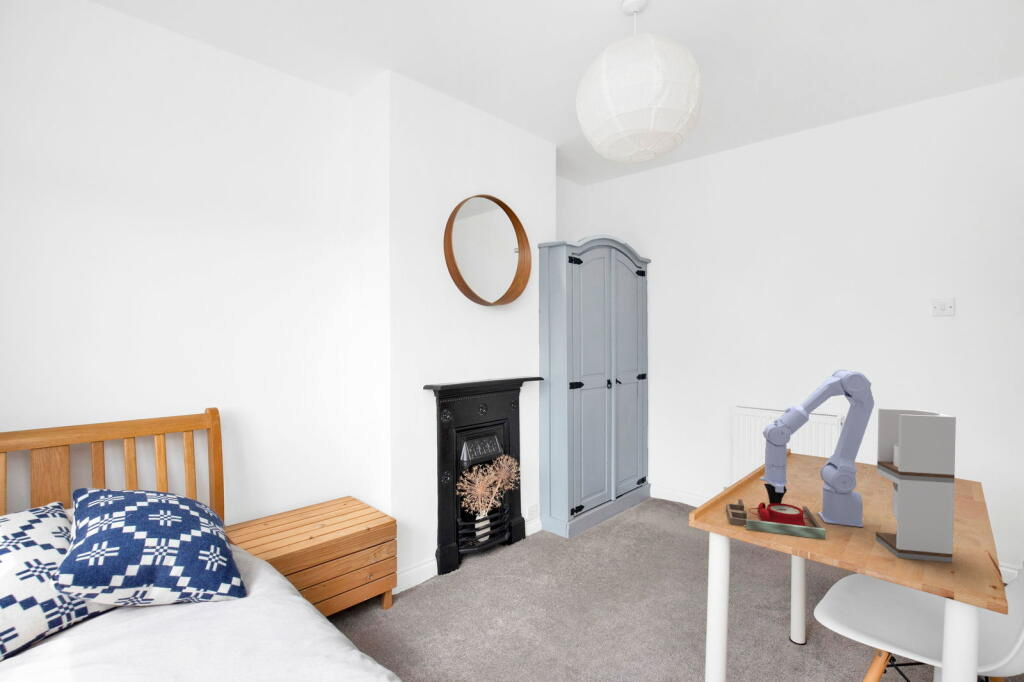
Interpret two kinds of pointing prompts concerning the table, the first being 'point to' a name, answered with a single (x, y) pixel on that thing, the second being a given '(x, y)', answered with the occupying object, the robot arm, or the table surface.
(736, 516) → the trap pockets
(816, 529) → the wall
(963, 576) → the table surface
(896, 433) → the display case
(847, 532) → the table surface
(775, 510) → the alarm clock
